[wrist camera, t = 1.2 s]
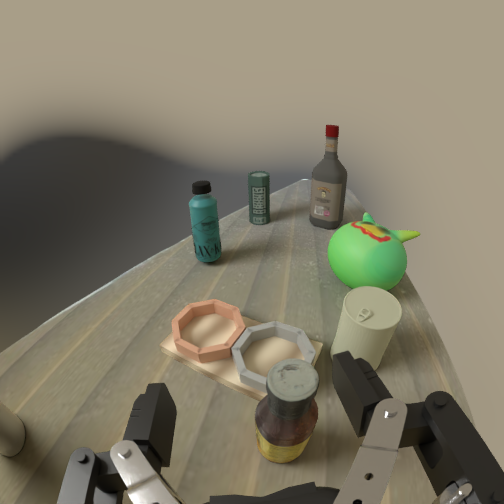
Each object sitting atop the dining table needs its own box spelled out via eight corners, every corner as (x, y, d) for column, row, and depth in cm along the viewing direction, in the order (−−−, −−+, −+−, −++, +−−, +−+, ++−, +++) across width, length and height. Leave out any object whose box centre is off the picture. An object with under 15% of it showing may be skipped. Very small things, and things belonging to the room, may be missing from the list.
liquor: (334, 231, 79) (343, 129, 63) (306, 224, 84) (311, 125, 67) (343, 220, 86) (352, 126, 70) (317, 213, 90) (322, 123, 74)
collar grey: (220, 373, 39) (219, 364, 38) (257, 324, 48) (257, 314, 46) (292, 403, 34) (294, 395, 33) (320, 346, 43) (323, 336, 41)
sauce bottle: (269, 420, 34) (274, 331, 23) (310, 434, 31) (344, 352, 21) (248, 457, 29) (237, 391, 18) (292, 473, 26) (319, 420, 16)
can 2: (319, 355, 43) (331, 303, 37) (350, 327, 48) (364, 275, 42) (361, 386, 37) (385, 337, 31) (389, 352, 42) (413, 302, 36)
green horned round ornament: (310, 275, 62) (315, 215, 54) (356, 252, 70) (365, 200, 62) (369, 320, 49) (389, 256, 41) (411, 286, 57) (429, 230, 49)
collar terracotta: (162, 342, 44) (158, 333, 43) (201, 302, 53) (199, 293, 51) (219, 372, 39) (217, 363, 38) (255, 323, 48) (255, 313, 46)
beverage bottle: (191, 260, 69) (179, 183, 58) (211, 250, 72) (203, 176, 62) (207, 271, 65) (196, 189, 54) (228, 259, 69) (222, 181, 58)
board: (162, 351, 45) (159, 344, 44) (204, 308, 54) (203, 300, 53) (290, 413, 35) (291, 407, 34) (321, 350, 44) (323, 343, 43)
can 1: (269, 216, 89) (269, 171, 81) (269, 224, 84) (269, 176, 76) (250, 216, 89) (248, 171, 81) (249, 224, 84) (247, 177, 76)
